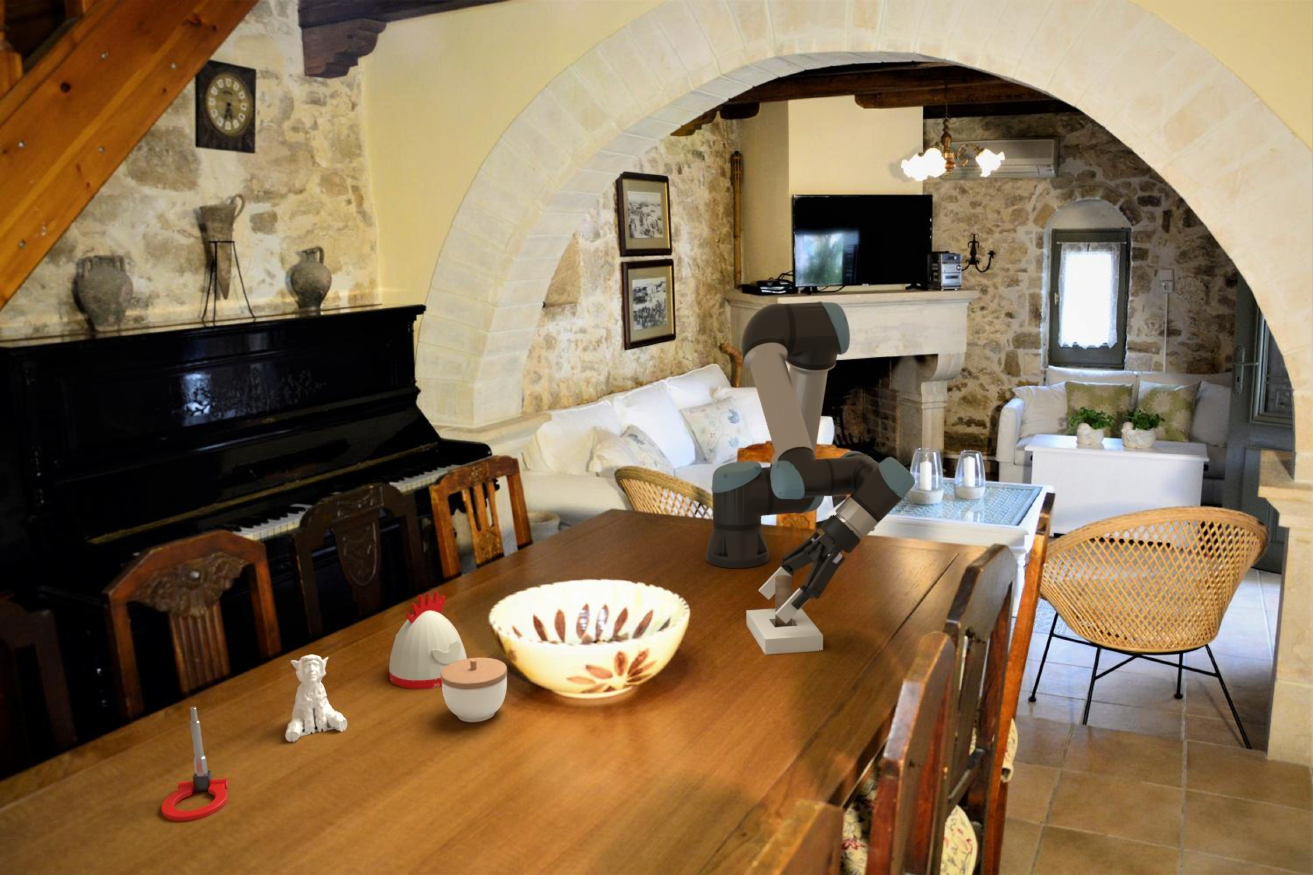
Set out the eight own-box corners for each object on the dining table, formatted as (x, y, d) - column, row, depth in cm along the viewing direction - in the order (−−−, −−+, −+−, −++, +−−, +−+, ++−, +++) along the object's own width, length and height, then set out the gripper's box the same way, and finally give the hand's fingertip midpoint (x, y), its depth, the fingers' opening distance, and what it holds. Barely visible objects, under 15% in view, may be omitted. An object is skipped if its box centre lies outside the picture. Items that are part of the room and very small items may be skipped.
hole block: (746, 624, 213) (746, 610, 212) (800, 620, 214) (800, 606, 214) (765, 654, 197) (765, 639, 197) (822, 650, 198) (822, 635, 198)
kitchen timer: (483, 671, 192) (479, 592, 190) (419, 695, 182) (413, 612, 180) (437, 652, 202) (433, 577, 199) (374, 675, 192) (368, 595, 189)
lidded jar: (520, 704, 178) (517, 651, 176) (490, 732, 168) (487, 676, 166) (463, 697, 181) (460, 645, 180) (430, 723, 171) (427, 669, 170)
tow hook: (219, 821, 144) (236, 784, 153) (208, 734, 141) (225, 702, 150) (154, 827, 143) (174, 789, 152) (141, 740, 140) (163, 707, 149)
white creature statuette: (286, 744, 165) (280, 671, 163) (278, 723, 173) (272, 653, 171) (348, 730, 170) (343, 659, 168) (337, 710, 177) (332, 642, 175)
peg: (773, 634, 207) (773, 575, 205) (789, 633, 207) (789, 574, 205) (777, 640, 204) (777, 580, 202) (793, 639, 204) (794, 579, 202)
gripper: (883, 557, 192) (802, 641, 193) (841, 522, 216) (769, 597, 217) (855, 530, 190) (774, 615, 191) (816, 498, 215) (744, 574, 215)
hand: (771, 606), depth 204 cm, fingers open, 13 cm apart
